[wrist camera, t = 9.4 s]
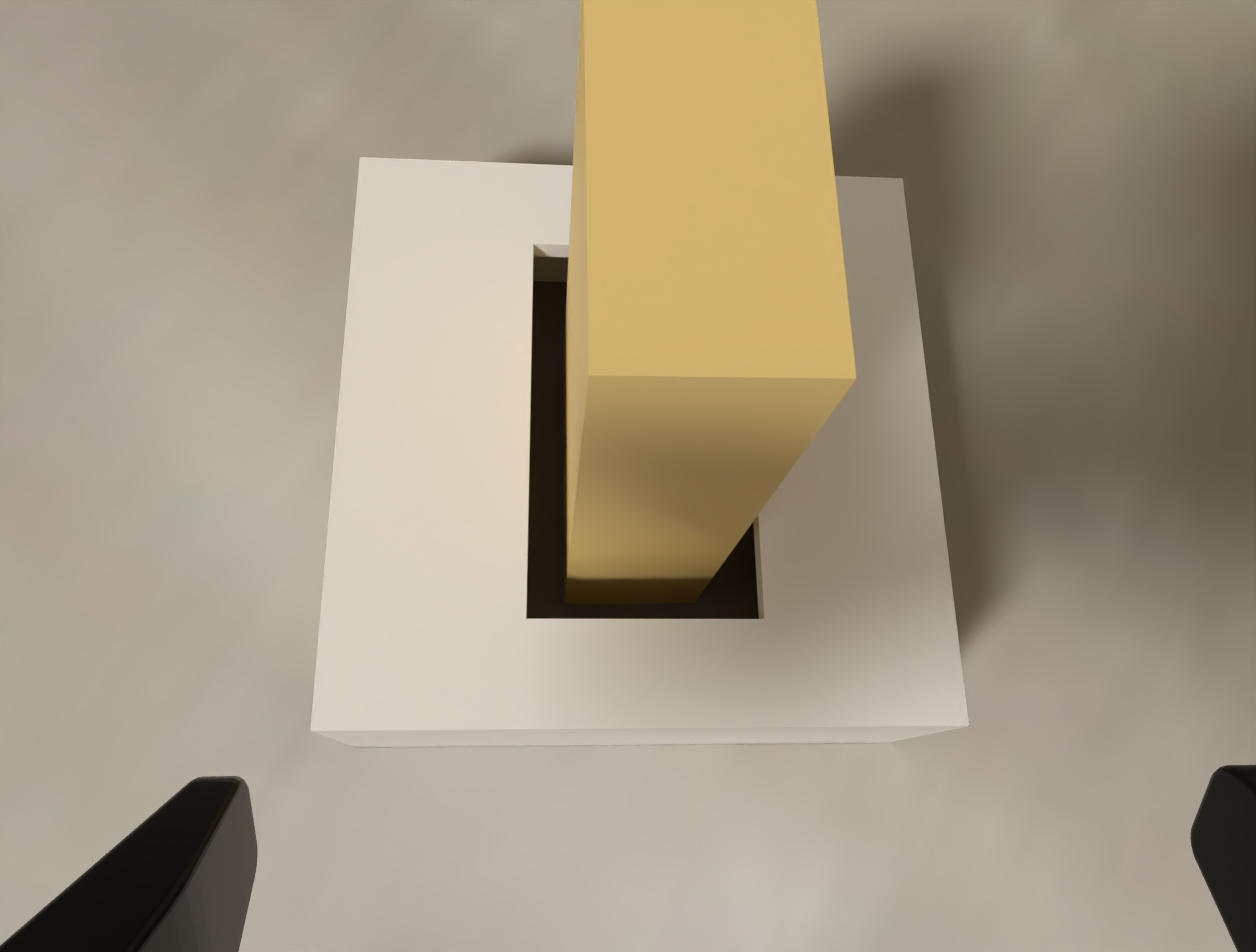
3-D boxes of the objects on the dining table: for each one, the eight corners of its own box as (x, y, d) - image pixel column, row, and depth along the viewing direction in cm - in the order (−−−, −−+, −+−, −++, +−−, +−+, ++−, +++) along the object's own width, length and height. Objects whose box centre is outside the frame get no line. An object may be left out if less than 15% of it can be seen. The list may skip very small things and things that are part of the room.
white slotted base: (889, 742, 23) (969, 725, 18) (355, 747, 22) (310, 730, 18) (845, 280, 27) (902, 178, 22) (389, 266, 26) (359, 157, 21)
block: (694, 602, 23) (856, 378, 11) (564, 603, 23) (588, 375, 11) (683, 366, 25) (812, -40, 13) (562, 364, 25) (582, -51, 13)
